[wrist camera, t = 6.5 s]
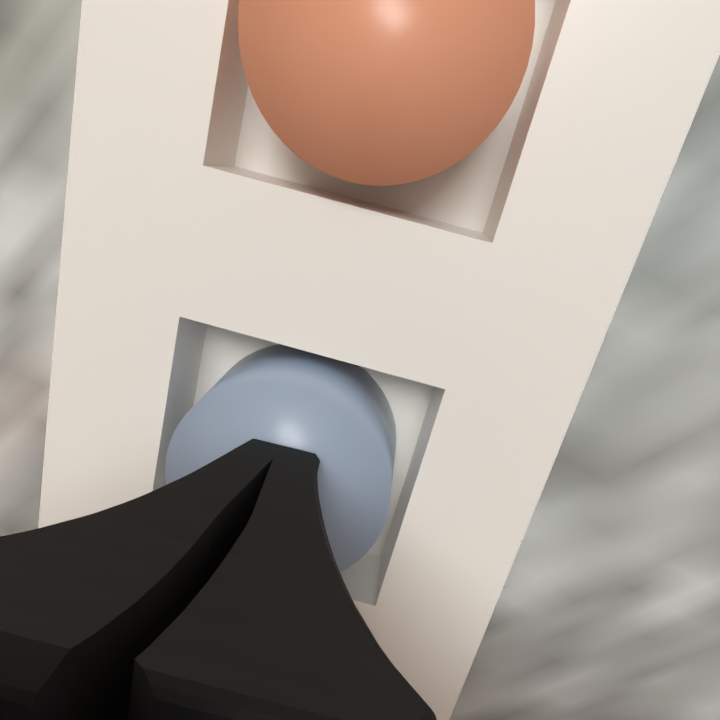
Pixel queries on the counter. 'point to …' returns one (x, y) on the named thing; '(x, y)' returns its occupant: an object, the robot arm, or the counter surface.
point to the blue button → (303, 434)
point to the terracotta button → (384, 79)
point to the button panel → (362, 281)
